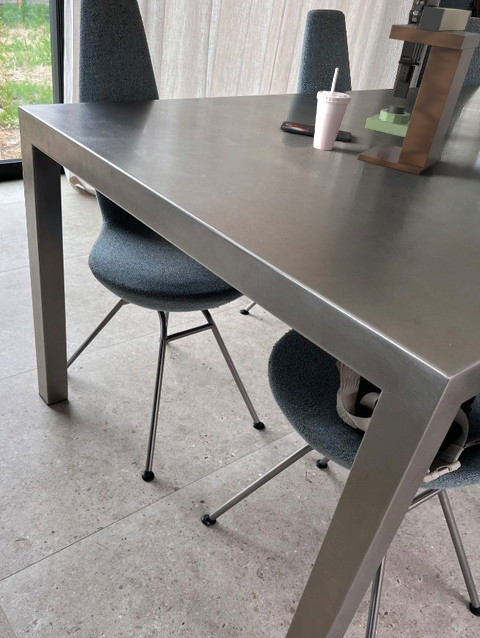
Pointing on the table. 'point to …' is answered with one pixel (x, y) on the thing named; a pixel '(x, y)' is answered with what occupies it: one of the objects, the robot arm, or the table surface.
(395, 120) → the switch box
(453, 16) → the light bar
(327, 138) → the smoothie
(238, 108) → the table surface
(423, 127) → the shelf
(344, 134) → the smartphone
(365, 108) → the table surface
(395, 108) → the button
